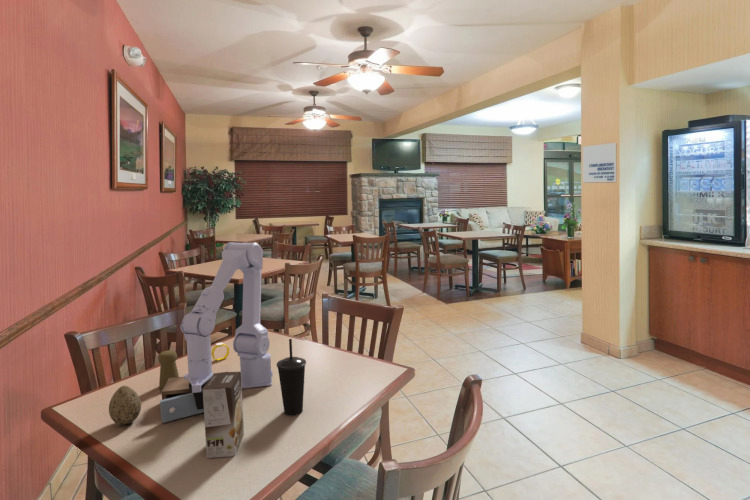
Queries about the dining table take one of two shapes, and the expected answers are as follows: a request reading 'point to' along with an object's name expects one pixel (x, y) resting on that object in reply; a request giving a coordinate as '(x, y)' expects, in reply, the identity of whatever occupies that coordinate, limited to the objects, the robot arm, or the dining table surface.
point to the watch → (220, 346)
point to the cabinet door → (178, 407)
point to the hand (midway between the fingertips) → (202, 407)
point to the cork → (167, 367)
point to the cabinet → (176, 387)
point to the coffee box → (223, 414)
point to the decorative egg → (124, 406)
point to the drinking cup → (292, 382)
